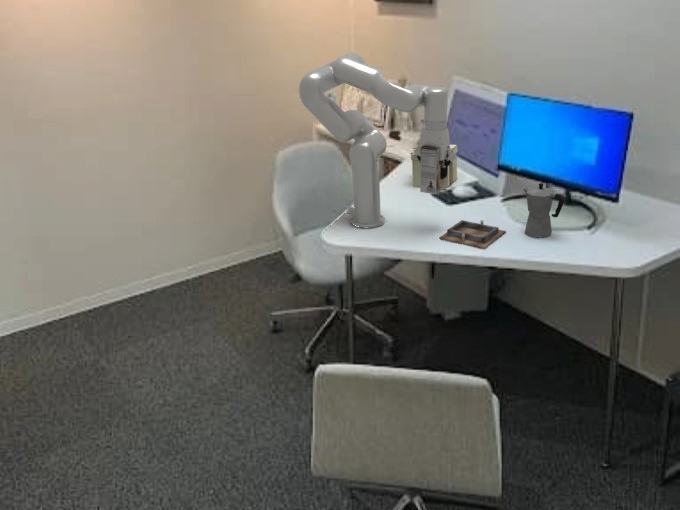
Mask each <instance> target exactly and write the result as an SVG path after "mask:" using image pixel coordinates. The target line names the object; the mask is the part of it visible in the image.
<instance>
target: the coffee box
mask: <svg viewBox="0 0 680 510" xmlns="http://www.w3.org/2000/svg"><path fill="white" fill-rule="evenodd" d="M447 159H448V158H447ZM441 168H442V165H441V161H439V148H435V147H431V146H422V147H421V168H420V187H419V188H420V189H419V191H420V193H424V194H431V195H438V194H439V193H440V192H442V191H443V189H445V188H446V187H447V181H448V172H447V177H446V178H444V179H441V178H440V175H441ZM447 188H448V187H447ZM447 188H446V189H447ZM446 189H445V190H446Z"/></svg>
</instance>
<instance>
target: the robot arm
mask: <svg viewBox="0 0 680 510" xmlns="http://www.w3.org/2000/svg"><path fill="white" fill-rule="evenodd" d="M343 84H345V85H349V86H351V87H352V88H353V87H354V88H356V89H358V90H360V91H362V92H365V93H368V94H370V95H371V96H372V97H373V98H374V99H376V100H377V101H378V102H379V103H381V104H383V105H385V106H386V107H388V108H391V109H394V110H396V111H398V112H402V113H406V114H407V113H413V112H414V111H416V110H418V108H421V107H423V119H421V120H420V124H422V125H423V127H421V129H420V134H419V141H418V146H419V147H417V148H416V149H413V151H414V153H415V155H416V156H417V158H418V160H419V161H420V164H421V147H422V146H431V147H435V148H439V161H441V165H442V168H441V175H440V178H441V179H444V178H446V177H447V172H448V166H449V165H450V164H451V163H452V162H453V161H454V160H455V159H456V156H455V155H454V154H453V153H452V151H451V150H450V145H451V139H450V132H449V129H448V128H447V126H448V125H447V124H448V123H447V121H448V95H449V94H448V89H447V88H446V87H445V86H444V87H443V86H438V85H435V86H429V85H425V84H421V83H413V84H411V85H409V86H407V87H406V88H403V87H401V86H398V85H396V84H393V83H392V82H390V81H388V80H387V79H386V78H385V76H384V73H383V71H382V69H380V68H377V67H375V66H372V65H369V64H367V63H366V62H365V60H364V58H363V57H362V55H359V53H355V52H350V53H346V54H344V55H342V56H340V57H338V58H337V59H335V60H332V61H331V62H329V63H326V64H324V65H322V66H320V67H317V68H315V69H313V70H311V71H308V72H307V73H306V74H304V76H303V77H302V78H301V80H300V82H299V87H298V92H299V93H298V94H299V98H300V101H301V103H302V105H303V106H304V107H305V109H307V111H308V112H309V113H311V114H312V116H314V117H315V118H316V119H317V120H318V121H319V122H320V124H321V125H322V126H323V128H325V129H326V130H327V131H328V132H329V134H330V135H332V136H333V138H334V139H336V140H337V141H338V142H340V143H347V142H350V141H352V140H354V142H353V143H352V145H351V146H350V149H349V151H348V152H349V155H348V156H349V162H350V165H351V173H352V189H353V191H352V193H353V194H352V195H353V207H352V206H349V207H347V211H346V214H347V215H351V218H350V224H351V223H352V224H354V225H356V226H359V227H374V228H378V227H380V225H381V226H382V225H384V224H385V223H386V218H385V216H384V215H382V214H381V191H380V189H381V188H380V171H379V166H378V164H377V160H378V159H379V158H381V156H382V155H384V153H385V152H386V150H387V146H388V145H387V140H386V138H385V136H384V135H383V133H382V132H381V131H380V130H379V129H378V128H377V127H376V126H375V124H373V123H372V122H371V120H369V118H367V117H366V115H364V114H363V113H362V112H361V111H358V110H356V109H350V110H346V111H344V110H343V109H342V108H341V107H340V106H339V105H338V103H336V102H335V101H334V100H333V99H331V98H329V97H328V96H326V95H325V93H327V92H328V91H330V90H332V89H334V88H336V87H338V86H340V85H343ZM448 157H450V159H449V160H448V159H447V158H448ZM352 224H351V225H352ZM377 226H378V227H377ZM359 227H358V228H359Z"/></svg>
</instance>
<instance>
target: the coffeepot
mask: <svg viewBox="0 0 680 510" xmlns="http://www.w3.org/2000/svg"><path fill="white" fill-rule="evenodd" d="M523 191H524V193H525V195H526V201H527V202H526V203H527V211H528V216H527V221H526V225H525V228H524V232H523V233H524V235H526V236H527V237H529V238H533V239H546V238H549V237H551V235H552V232H553V230H552V229H553V228H552V222H551V221H552V220H551V217H552V218H558V217H559V215H560V213H561V210H562V208H563V206H564V203H565V198H564V197H563V196H562V195H561V194H560V193H555V192H556V191H555V190H552V189H551V188H549V187H544V183H543V182H542V183H541V182H539V183H538V187H526V188H524V189H523ZM554 200H557V201H558V203H557V207H556V209H555V213H554V214H553V213H551V215H550V212H551V211H552V210H551V209H552V205H553V201H554Z"/></svg>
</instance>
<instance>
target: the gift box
mask: <svg viewBox="0 0 680 510" xmlns="http://www.w3.org/2000/svg"><path fill="white" fill-rule="evenodd" d="M418 147H419V145H417V146H415V147H412V149H413V151H411V152H410V160H411V163H412V164H411V166H412V167H411V168H412V169H411V171H412V187H414V188H420V168H421V164H420V161H419V160H418V158H417V156H416V155H415V153H414V150H415V149H416V148H418ZM450 150H451V151H452V153H453V154H454V155H455V156H456V159H455V160H454V161H453V162H452V163H451V164H450V165H449V166H448V181H447V187H446V188H445V189H443V190H447V188H449V187H450V186H451V185H452V184H453V183H454V182H455V181H457V180H458V171H457V170H458V169H457V168H458V166H457V165H458V164H457V163H458V162H457V161H458V160H457V157H458V156H457V153H458V144H450ZM449 159H450V157H448V160H449ZM443 190H442V191H443Z"/></svg>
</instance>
